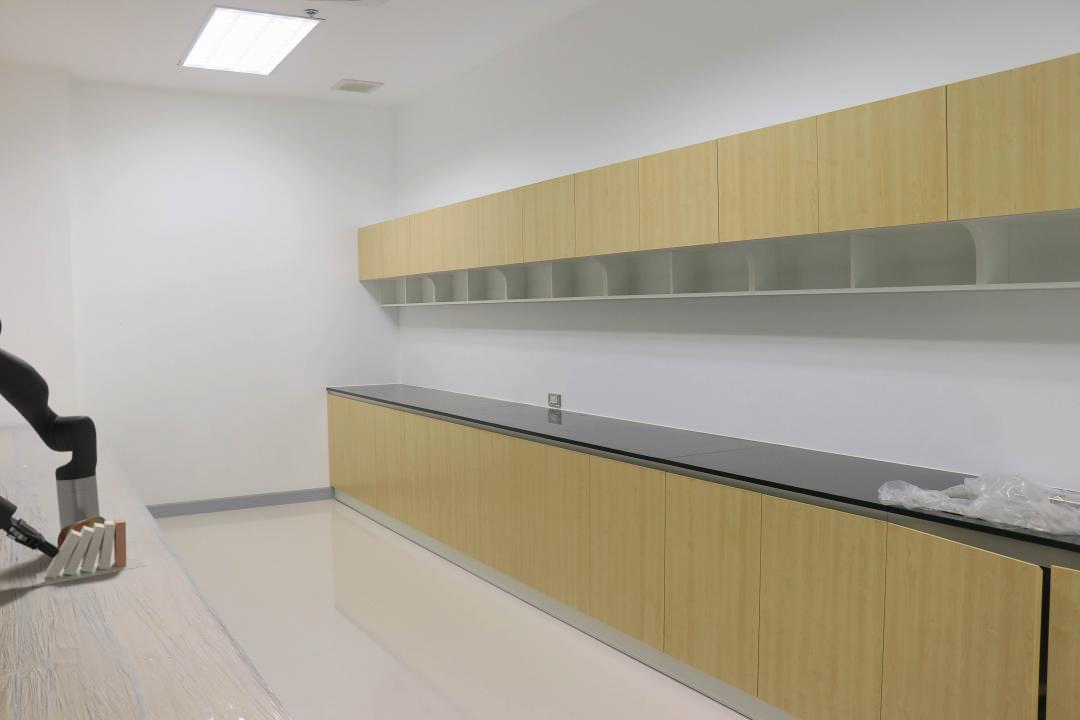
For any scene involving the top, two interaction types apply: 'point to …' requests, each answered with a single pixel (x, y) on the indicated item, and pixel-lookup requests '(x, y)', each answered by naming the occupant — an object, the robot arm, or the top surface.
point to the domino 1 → (63, 554)
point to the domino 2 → (78, 551)
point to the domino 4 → (106, 545)
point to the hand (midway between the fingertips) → (56, 554)
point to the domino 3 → (93, 548)
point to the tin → (78, 528)
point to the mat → (130, 563)
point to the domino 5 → (120, 542)
